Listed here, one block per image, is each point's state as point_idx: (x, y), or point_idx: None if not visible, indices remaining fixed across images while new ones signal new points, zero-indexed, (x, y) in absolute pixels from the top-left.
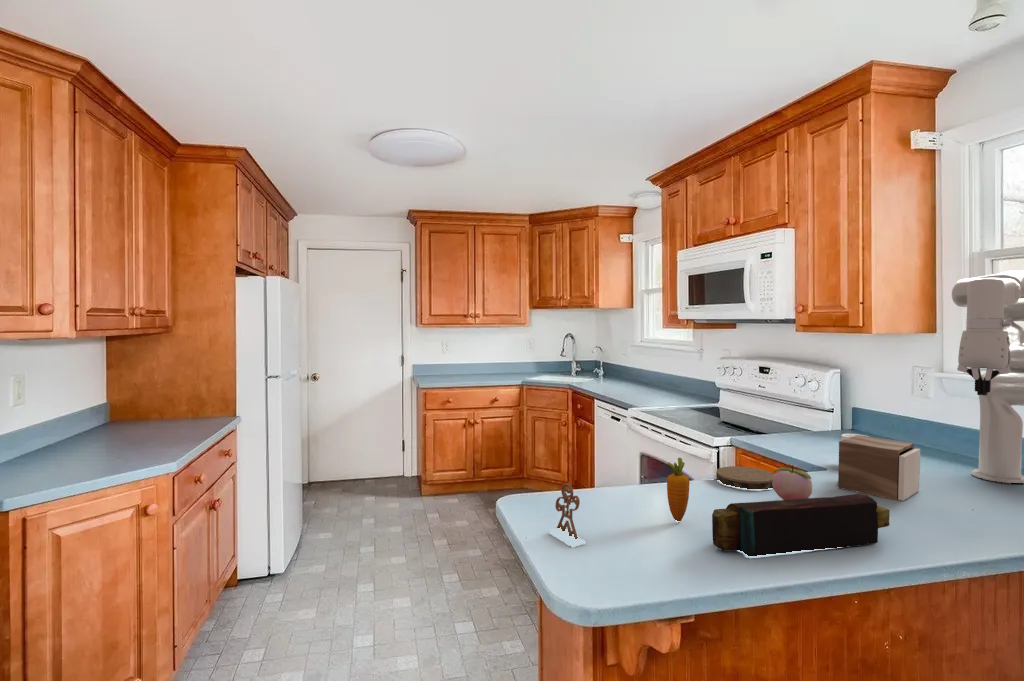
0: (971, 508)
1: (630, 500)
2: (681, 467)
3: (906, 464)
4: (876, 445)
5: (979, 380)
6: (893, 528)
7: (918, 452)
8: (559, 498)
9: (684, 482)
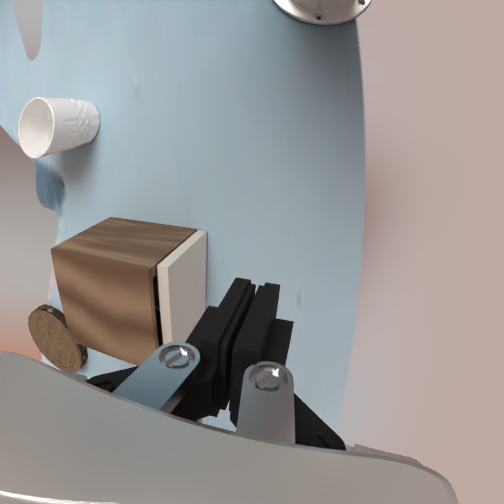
0: (297, 292)
1: None
2: None
3: None
4: (116, 345)
5: (213, 412)
6: (229, 419)
7: (171, 279)
8: None
9: None
